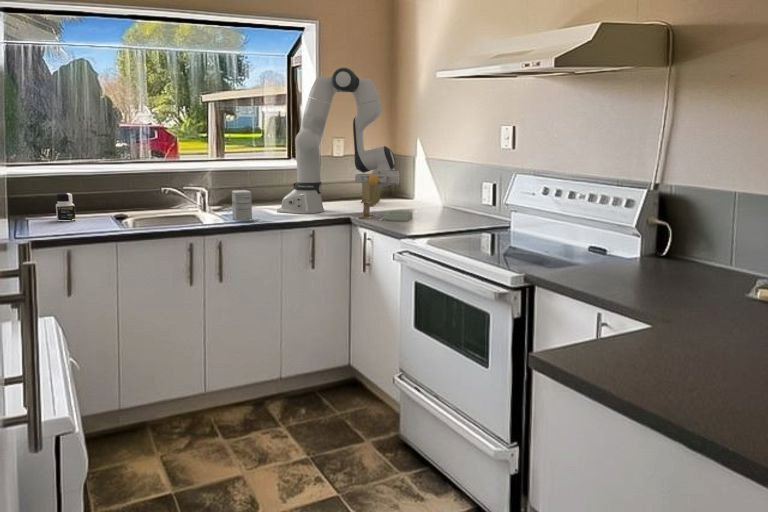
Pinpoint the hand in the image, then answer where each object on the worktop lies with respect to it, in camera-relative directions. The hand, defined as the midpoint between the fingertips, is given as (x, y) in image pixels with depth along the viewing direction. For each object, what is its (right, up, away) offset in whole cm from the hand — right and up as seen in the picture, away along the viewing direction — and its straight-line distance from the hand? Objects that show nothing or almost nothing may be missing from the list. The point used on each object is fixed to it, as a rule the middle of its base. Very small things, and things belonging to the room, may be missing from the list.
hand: (373, 180), depth 331 cm
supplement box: (-58, -18, -1) cm, 61 cm away
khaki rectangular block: (-2, -7, +54) cm, 54 cm away
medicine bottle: (-134, -19, -7) cm, 135 cm away
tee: (-3, -17, +5) cm, 18 cm away
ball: (0, -2, +1) cm, 3 cm away
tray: (+11, -17, +1) cm, 21 cm away
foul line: (+4, -17, +3) cm, 18 cm away
